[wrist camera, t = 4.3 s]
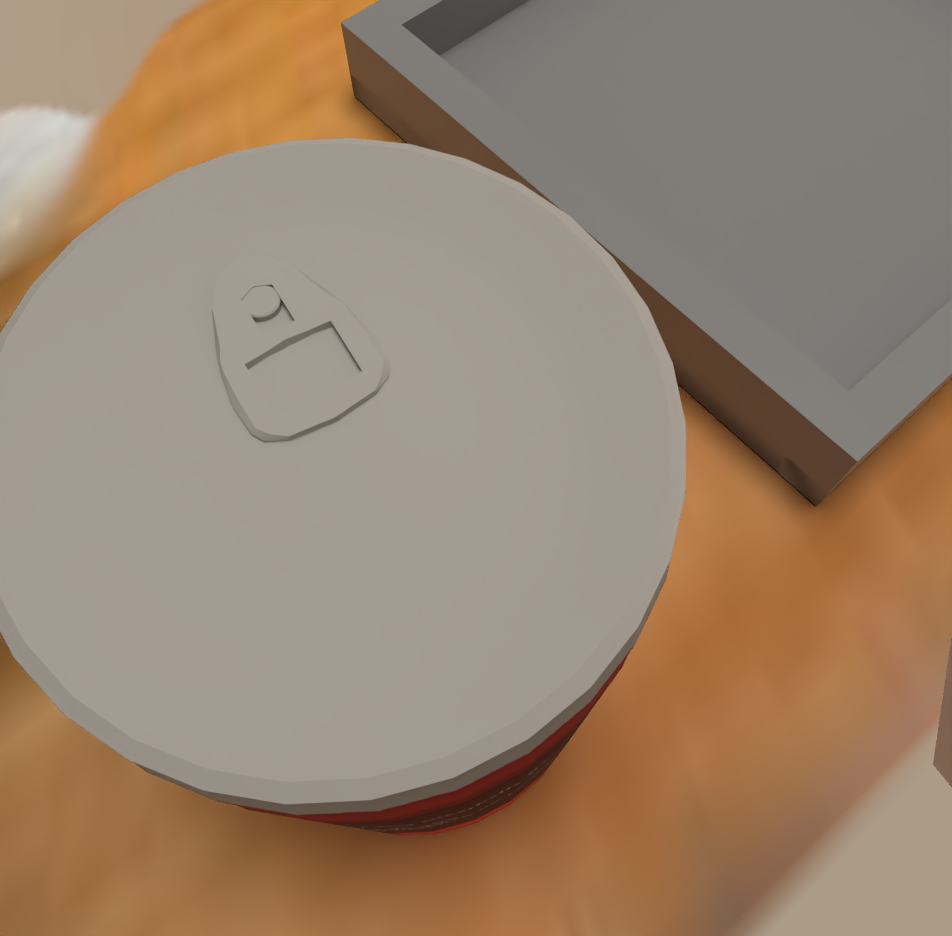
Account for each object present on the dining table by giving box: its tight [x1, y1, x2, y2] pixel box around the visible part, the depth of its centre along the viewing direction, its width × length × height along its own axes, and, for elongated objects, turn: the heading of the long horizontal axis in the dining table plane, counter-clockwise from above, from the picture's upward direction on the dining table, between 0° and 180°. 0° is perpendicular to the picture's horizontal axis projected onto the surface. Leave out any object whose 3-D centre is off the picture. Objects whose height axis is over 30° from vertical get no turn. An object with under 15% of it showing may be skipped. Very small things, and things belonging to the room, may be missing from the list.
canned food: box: [0, 138, 686, 835], centre depth 14 cm, size 8×8×11 cm
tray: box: [341, 0, 952, 506], centre depth 24 cm, size 18×18×2 cm
